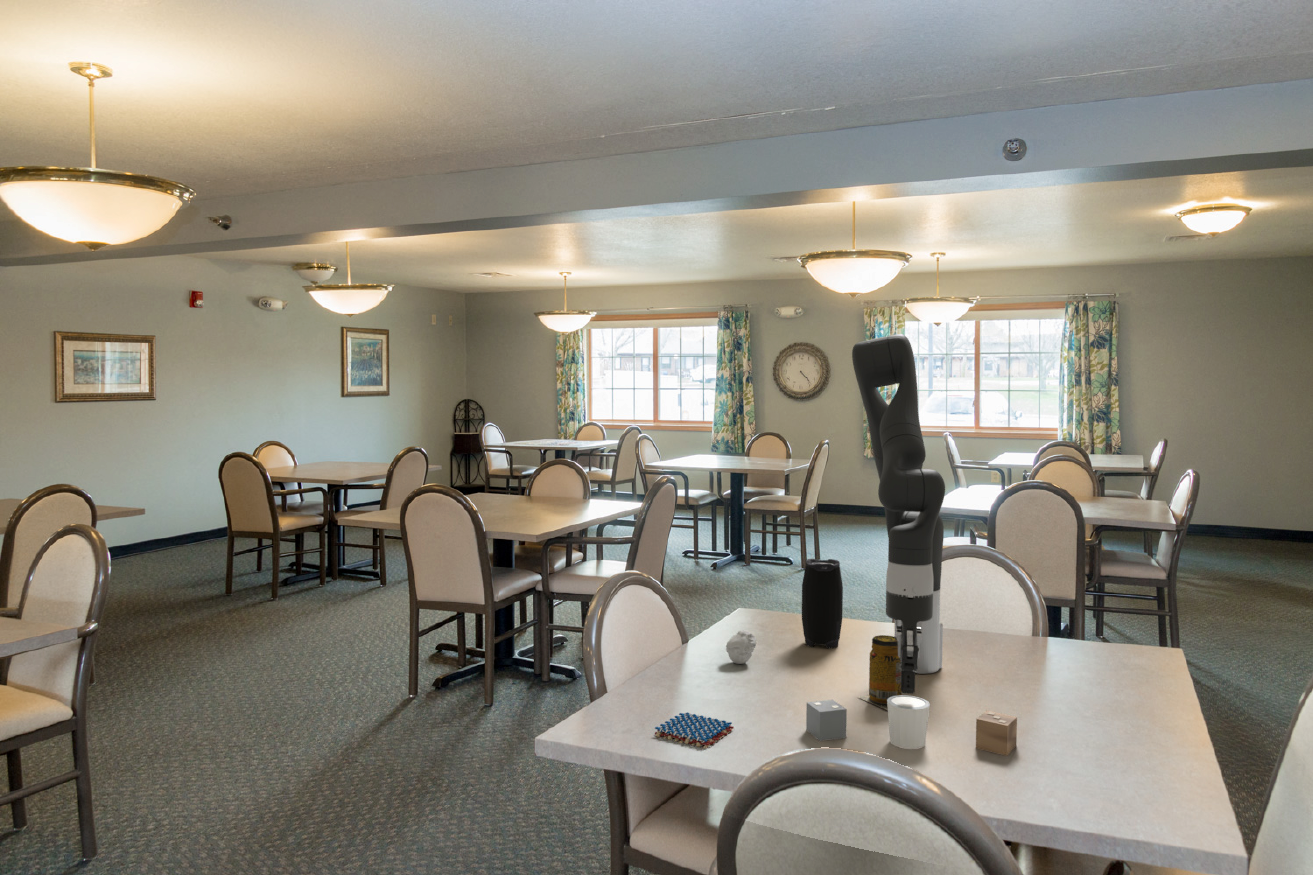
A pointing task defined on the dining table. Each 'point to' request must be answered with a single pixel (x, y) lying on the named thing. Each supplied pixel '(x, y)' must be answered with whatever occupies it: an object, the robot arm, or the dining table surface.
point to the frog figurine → (741, 647)
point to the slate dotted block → (826, 720)
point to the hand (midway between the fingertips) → (907, 691)
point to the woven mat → (694, 729)
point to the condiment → (883, 671)
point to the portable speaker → (822, 602)
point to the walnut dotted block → (996, 732)
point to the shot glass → (908, 721)
